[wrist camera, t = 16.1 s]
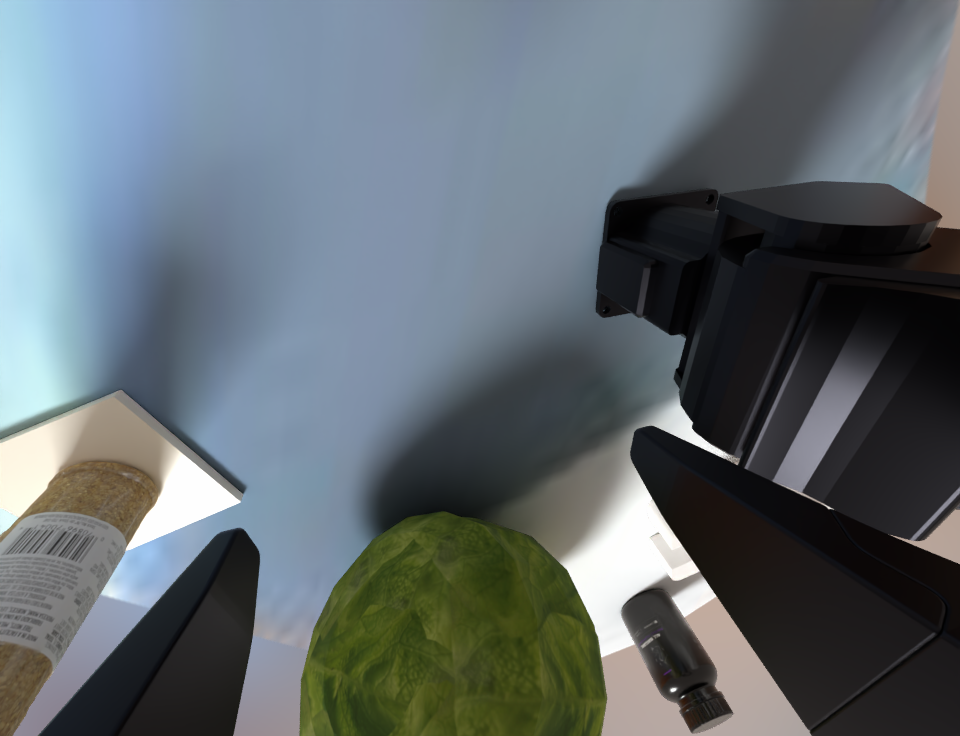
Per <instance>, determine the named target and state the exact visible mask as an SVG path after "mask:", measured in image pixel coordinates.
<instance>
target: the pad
mask: <svg viewBox="0 0 960 736" xmlns="http://www.w3.org/2000/svg"><path fill="white" fill-rule="evenodd" d="M95 461H98V462H111V463H118V464H121V465H125V466H128V467H132V468H135V469H137V470H139V471H141V472H142V473H144V474H145V475H146V476H148V477H149V478H150V479H151V481H152V482H153V483H154V484H155V485H156V487H157V489H158V500H157V502H156V504H155V506H154V507H153V508H152V509H151V510H150V511H149V513H148V514H146V516H145V518H144V519H143V521H142V523H141V524H140V526H139V528H138V530H137V531H136V533H135V535H134V536H133V538H132V540H131V541H130V543H129V544H128V546H127V548H126V551H127V550H130V549H132V548H134V547H137V546H139V545H141V544H144V543H146V542H148V541H151V540H153V539H155V538H158V537H160V536H163V535H165V534H167V533H170V532H172V531H174V530H177V529H179V528H181V527H184V526H186V525H188V524H191V523H193V522H195V521H198V520H200V519H202V518H205V517H207V516H209V515H212V514H214V513H216V512H219V511H221V510H223V509H226V508H228V507H230V506H233V505H235V504H237V503H240V502H241V500H242V497H243V494H242V493H241V492H240V491H239V490H238V489H237V488H235V487H234V486H233V485H232V484H231V483H230V482H228V481H227V480H226V479H225V478H224V477H223V476H221V475H220V474H219V473H218V472H217V471H216V470H214V469H213V468H212V467H211V466H210V465H209V464H207V463H206V462H205V461H204V460H203V459H202V458H200V457H199V456H198V455H197V454H196V453H195V452H193V451H192V450H191V449H190V448H189V447H188V446H186V445H185V444H184V443H183V442H182V441H181V440H179V439H178V438H177V437H176V436H175V435H174V434H172V433H171V432H170V431H169V430H168V429H167V428H165V427H164V426H163V425H162V424H161V423H159V422H158V421H157V420H156V419H155V418H154V417H152V416H151V415H150V414H149V413H148V412H147V411H145V410H144V409H143V408H142V407H141V406H140V405H138V404H137V403H136V402H135V401H134V400H133V399H131V398H130V397H129V396H128V395H127V394H126V393H124V392H123V391H122V390H119V391H116V392H114V393H112V394H109V395H107V396H104V397H102V398H99V399H97V400H95V401H92V402H90V403H87V404H85V405H82V406H80V407H78V408H75V409H73V410H70V411H68V412H66V413H63V414H61V415H58V416H56V417H53V418H51V419H49V420H46V421H44V422H41V423H39V424H36V425H34V426H32V427H29V428H27V429H24V430H22V431H20V432H17V433H15V434H12V435H10V436H7V437H5V438H3V439H0V508H2V509H4V510H6V511H8V512H10V513H12V514H14V515H15V516H17V517H20V516H21V515H22V514H23V513H24V512H25V511H26V510H27V509H28V508H29V507H30V505H31V504H32V503H33V502H34V501H35V500H36V499H37V498H38V497H39V496H40V495H41V494H42V493H43V492H44V491H45V490H46V489H47V486H48V483H49V482H50V481H51V480H52V479H53V477H54V476H55V475H56V474H57V473H58V472H59V471H61V470H63V469H65V468H68V467H70V466H73V465H76V464H79V463H84V462H95Z"/></svg>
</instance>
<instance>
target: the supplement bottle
mask: <svg viewBox="0 0 960 736" xmlns="http://www.w3.org/2000/svg"><path fill="white" fill-rule="evenodd" d="M621 616H622V619H623V621H624V623H625V625H626V627H627V629H628V631H629V633H630V635H631V637H632V639H633V641H634V643H635V645H636V647H637V649H638V651H639V653H640V655H641V657H642V659H643V660H644V663H645V664H646V666H647V668H648V670H649V672H650V674H651V676H652V678H653V680H654V682H655V684H656V686H657V688H658V690H659V692H660V693H661V695H662V696H663V697H664V698H666V699H667V700H669V701H671V702H674V703H677V704H678V705H679V707H680V708H681V709H680V711H679V712H680V714H681V716H682V717H683V718H684V720H685V722H686V724H687V726H688V728H689V729H690V731H691V733H700V732H703V731H706V730H708V729H711V728H713V727H715V726H717V725H719V724H721V723H722V722H724V721H726V720H727V719H729V718H730V717H731V716H732V715H733V712H732V710H731V708H730V707H729V705H728V704H727V702H726V700H725V699H724V695H723V694H722V692H720V691H717V689H716V687H715V683H716V680H717V670H716V668H715V665H714V664H713V662H712V660H711V659H710V657H709V656H708V654H707V653H706V651H705V650H704V648H703V646H702V645H701V643H700V642H699V640H698V638H697V637H696V635H695V634H694V632H693V631H692V629H691V628H690V626H689V624H688V623H687V621H686V620H685V618H684V617H683V615H682V613H681V612H680V610H679V609H678V607H677V606H676V604H675V603H674V601H673V600H672V598H671V596H670V595H669V594H668V593H667V592H666V591H664V590H661V589H654V590H649V591H646V592H644V593H641V594H639V595H637V596H635V597H634V598H632V599H631V600H630V601H628V602H627V603H626V604H625V605H624V607H623V608H622V611H621Z"/></svg>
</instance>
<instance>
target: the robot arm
mask: <svg viewBox="0 0 960 736" xmlns="http://www.w3.org/2000/svg"><path fill="white" fill-rule="evenodd" d="M708 196H709V198H708V200H707V202H706V199H707V197H708ZM717 200H718V192H717V191H716V190H713V189H700V190H692V191H685V192H677V193H669V194H661V195H654V196H646V197H638V198H631V199H623V200H615V201H613V202H611V203H610V204H609V205H608V207H607V209H606V213H605V223H604V233H603V243H602V245H601V247H600V254H599V264H598V274H597V284H596V289H597V290H598V292H597V301H596V312H597V314H598V315H600V316H601V317H603V318H606V317H612V316H617V315H622V314H628V313H632V314H634V315H635V316H637V317H639V318H641V317H643V318H644V319H646V320H647V321H649V322H650V323H652V324H654V325H655V326H657V327H658V328H660V329H661V330H663V331H664V332H666V333H668V334H669V335H678V334H679V335H681V336H682V337H684V338H686V341H685V345H684V349H683V353H682V356H681V360H680V364H679V368H677V369H676V371H675V375H674V380H675V382H676V384H677V385H678V387H679V389H680V390H679V396H680V403H681V406H682V408H683V409H684V411H685V412H686V414H687V415H688V417H689V418H690V419H691V421H692V422H693V425H692V429H693V430H694V431H695V432H696V433H697V434H698V435H699V436H701V437H702V438H703V439H705V440H706V441H707V442H709V443H710V444H711V445H713V446H715V447H716V448H718V449H720V450H722V451H723V452H725V453H727V454H729V455H731V456H733V457H736V458H738V459H740V460H739V463H738V465H736V464H734V463H732V462H730V461H728V460H726V459H723V458H721V457H719V456H717V455H715V454H713V453H711V452H708V451H706V450H704V449H702V448H700V447H698V446H696V445H693V444H691V443H689V442H687V441H685V440H683V439H680V438H678V437H676V436H674V435H672V434H670V433H668V432H665V431H663V430H661V429H659V428H657V427H654V426H646V427H642V428H638V429H636V431H635V432H634V436H633V441H632V446H631V451H630V456H631V460H632V462H633V464H634V466H635V468H636V470H637V471H638V473H639V475H640V477H641V479H642V481H643V482H644V484H645V486H646V488H647V490H648V492H649V493H650V495H651V497H652V499H653V501H654V502H655V504H656V506H657V508H658V510H659V511H660V513H661V515H662V516H663V518H664V520H665V521H666V523H667V524H668V526H669V527H670V529H671V530H672V532H673V533H674V535H675V536H676V537H677V539H678V540H679V542H680V543H681V545H682V546H683V548H684V549H685V551H686V552H687V554H688V555H689V556H690V558H691V559H692V561H693V562H694V564H695V565H696V567H697V568H698V570H699V571H700V573H701V574H702V575H703V577H704V578H705V580H706V581H707V583H708V584H709V586H710V587H711V589H712V590H713V592H714V593H715V594H716V596H717V597H718V599H719V600H720V602H721V603H722V604H723V606H724V608H725V609H726V611H727V612H728V613H729V615H730V616H731V618H732V619H733V621H734V622H735V624H736V625H737V627H738V628H739V629H740V631H741V632H742V634H743V635H744V637H745V638H746V640H747V641H748V643H749V644H750V645H751V647H752V648H753V650H754V651H755V653H756V654H757V656H758V657H759V659H760V660H761V662H762V663H763V665H764V666H765V668H766V669H767V670H768V672H769V673H770V675H771V676H772V678H773V679H774V681H775V682H776V684H777V685H778V687H779V688H780V689H781V691H782V692H783V694H784V695H785V697H786V698H787V700H788V701H789V703H790V704H791V705H792V707H793V708H794V710H795V711H796V713H797V714H798V716H799V717H800V719H801V720H802V722H803V723H804V724H805V726H806V727H807V729H808V730H810V734H811V735H812V736H960V564H958V563H955V562H953V561H951V560H948V559H946V558H943V557H941V556H938V555H936V554H933V553H931V552H929V551H926V550H924V549H921V548H919V547H917V546H914V545H912V544H909V543H907V542H905V541H902V540H900V539H897V538H895V537H893V536H897V537H901V538H904V539H908V540H913V541H922V540H925V539H926V538H927V537H928V536H929V535H930V534H931V533H932V532H933V531H934V530H935V529H936V528H937V527H938V526H939V525H940V524H941V523H942V522H943V521H944V520H945V519H946V518H947V517H948V516H949V515H950V514H951V513H952V512H953V511H954V510H955V509H956V510H960V229H950V228H940V227H937V225H938V224H939V222H940V220H941V218H942V215H941V214H940V213H939V212H937V211H935V210H933V209H932V208H930V207H928V206H926V205H925V204H923V203H921V202H919V201H918V200H916V199H914V198H912V197H911V196H909V195H907V194H905V193H903V192H902V191H900V190H898V189H896V188H895V187H893V186H891V185H889V184H881V183H856V182H828V181H815V182H807V183H799V184H792V185H784V186H777V187H769V188H762V189H754V190H747V191H739V192H732V193H724V194H720V197H719V201H718V205H717V210H719V212H715V208H716V204H717ZM617 207H618V208H619V211H618V213H617V214H616V215H614V211H615V209H616V208H617ZM606 306H607V309H606V310H605V311H603V309H604V308H605V307H606ZM775 482H776V483H775ZM777 483H778V484H777ZM779 484H781V485H783V486H781V485H779ZM784 486H786V487H789V488H791V489H794V490H796V491H799V492H802V493H804V494H806V495H808V496H809V497H811V498H813V499H815V500H817V501H819V502H821V503H823V504H825V505H827V506H829V507H830V508H832V509H828V508H827V507H826V506H824V505H822V504H820V503H818V502H816V501H814V500H812V499H809V498H807V497H805V496H803V495H801V494H799V493H797V492H794V491H792V490H790V489H788V488H786V487H784ZM833 509H834V510H833ZM835 510H836V511H835ZM888 534H889V535H888ZM890 535H893V536H890ZM259 566H260V554H259V551H258V549H257V547H256V546H255V544H254V543H253V541H252V540H251V538H250V537H249V536H248V534H247V533H246V531H245V530H244V529H242V528H235V529H231V530H227V531H223V532H220V533H219V534H217V535H216V536H215V537H214V538H213V539H212V540H211V541H210V542H209V544H208V545H207V546H206V547H205V548H204V549H203V550H202V551H201V553H200V554H199V555H198V556H197V557H196V558H195V559H194V561H193V562H192V563H191V564H190V565H189V566H188V567H187V568H186V570H185V571H184V572H183V573H182V574H181V575H180V576H179V577H178V579H177V580H176V581H175V582H174V583H173V584H172V585H171V586H170V588H169V589H168V590H167V591H166V592H165V593H164V594H163V595H162V597H161V598H160V599H159V600H158V601H157V602H156V603H155V604H154V606H153V607H152V608H151V609H150V610H149V611H148V612H147V614H146V615H145V616H144V617H143V618H142V619H141V620H140V622H138V624H137V625H136V626H135V627H134V628H133V629H132V630H131V631H130V633H129V634H128V635H127V636H126V637H125V638H124V639H123V640H122V642H121V643H120V644H119V645H118V646H117V647H116V648H115V649H114V651H113V652H112V653H111V654H110V655H109V656H108V657H107V658H106V660H105V661H104V662H103V663H102V664H101V665H100V666H99V668H98V669H97V670H96V671H95V672H94V673H93V674H92V675H91V676H90V678H89V679H88V680H87V681H86V682H85V683H84V685H82V687H81V688H80V689H79V690H78V691H77V692H76V693H75V694H74V696H73V697H72V698H71V699H70V700H69V701H68V702H67V704H66V705H65V706H64V707H63V708H62V709H61V710H60V711H59V713H58V714H57V715H56V716H55V717H54V718H53V719H52V720H51V722H50V723H49V724H48V725H47V726H46V727H45V728H44V730H43V731H42V732H41V733H40V734H39V735H38V736H233V734H234V729H235V724H236V719H237V714H238V708H239V704H240V699H241V693H242V688H243V684H244V679H245V674H246V669H247V664H248V659H249V654H250V649H251V643H252V637H253V629H254V619H255V608H256V598H257V587H258V576H259Z"/></svg>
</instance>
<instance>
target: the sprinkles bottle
mask: <svg viewBox="0 0 960 736" xmlns="http://www.w3.org/2000/svg"><path fill="white" fill-rule="evenodd" d="M157 500H158V489H157V487H156V485H155V484H154V483H153V482H152V481H151V479H150V478H149V477H148V476H146V475H145V474H144V473H142V472H141V471H139V470H137V469H135V468H132V467H128V466H125V465H121V464H118V463H111V462H98V461H95V462H84V463H79V464H76V465H73V466H70V467H68V468H65V469H63V470H61V471H59V472H58V473H57V474H56V475H55V476H54V477H53V479H52V480H51V481H50V482H49V483H48V486H47V489H46V490H45V491H44V492H43V493H42V494H41V495H40V496H39V497H38V498H37V499H36V500H35V501H34V502H33V503H32V504H31V505H30V507H29V508H28V509H27V510H26V511H25V512H24V513H23V514H22V515H21V516H20V517H19V518H18V519H17V520H16V521H15V522H14V524H13V525H12V526H11V527H10V528H9V529H8V530H7V531H5V532H3V533H2V534H1V535H0V736H13V734H14V732H15V731H16V729H17V728H18V726H19V725H20V723H21V722H22V720H23V719H24V717H25V716H26V713H27V711H28V709H29V707H30V705H31V704H32V703H33V701H34V700H35V697H36V696H37V694H38V693H39V691H40V689H41V688H42V687H43V685H44V683H45V682H46V681H47V680H48V679H49V678H50V676H51V675H52V673H53V671H54V670H55V668H56V667H57V665H58V663H59V662H60V660H61V658H62V657H63V655H64V653H65V651H66V650H67V648H68V646H69V645H70V643H71V641H72V640H73V638H74V636H75V635H76V633H77V631H78V630H79V628H80V626H81V625H82V623H83V622H84V620H85V618H86V617H87V615H88V613H89V611H90V610H91V608H92V607H93V605H94V603H95V602H96V600H97V598H98V597H99V595H100V594H101V592H102V590H103V589H104V587H105V585H106V584H107V582H108V580H109V579H110V577H111V575H112V574H113V572H114V570H115V569H116V567H117V565H118V564H119V562H120V560H121V559H122V557H123V555H124V554H125V551H126V548H127V546H128V544H129V543H130V541H131V540H132V538H133V536H134V535H135V533H136V531H137V530H138V528H139V526H140V524H141V523H142V521H143V519H144V518H145V516H146V514H148V513H149V511H150V510H151V509H152V508H153V507H154V506H155V504H156V502H157Z"/></svg>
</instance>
